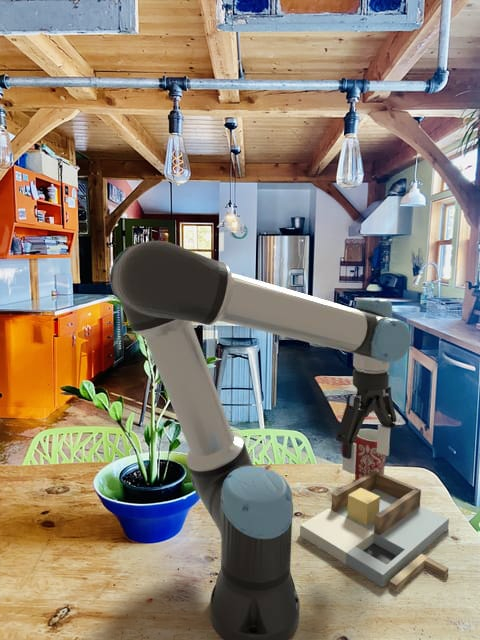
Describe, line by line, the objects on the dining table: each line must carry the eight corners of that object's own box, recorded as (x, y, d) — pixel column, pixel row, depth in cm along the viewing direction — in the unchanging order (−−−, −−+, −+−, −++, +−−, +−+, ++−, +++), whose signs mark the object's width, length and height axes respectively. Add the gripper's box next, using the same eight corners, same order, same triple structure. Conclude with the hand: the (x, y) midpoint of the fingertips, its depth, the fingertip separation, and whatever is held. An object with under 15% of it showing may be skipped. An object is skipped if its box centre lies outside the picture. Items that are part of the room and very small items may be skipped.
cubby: (379, 535, 90) (380, 517, 90) (331, 509, 99) (331, 493, 99) (419, 505, 102) (421, 489, 101) (373, 485, 111) (374, 470, 111)
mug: (380, 473, 123) (382, 428, 121) (390, 489, 114) (393, 441, 112) (336, 472, 123) (338, 427, 121) (343, 488, 114) (345, 440, 112)
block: (366, 525, 93) (367, 504, 93) (347, 515, 97) (348, 494, 97) (378, 517, 97) (380, 496, 96) (359, 507, 100) (360, 487, 100)
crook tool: (417, 605, 75) (417, 598, 75) (389, 587, 79) (389, 580, 79) (447, 574, 82) (448, 568, 82) (420, 559, 87) (421, 553, 86)
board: (382, 587, 79) (383, 574, 78) (299, 535, 94) (300, 524, 93) (448, 528, 97) (449, 518, 97) (370, 492, 112) (370, 484, 112)
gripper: (352, 382, 82) (347, 486, 85) (415, 364, 98) (409, 452, 101) (321, 375, 88) (317, 472, 90) (385, 358, 104) (381, 442, 106)
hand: (366, 462), depth 96 cm, fingers open, 13 cm apart
